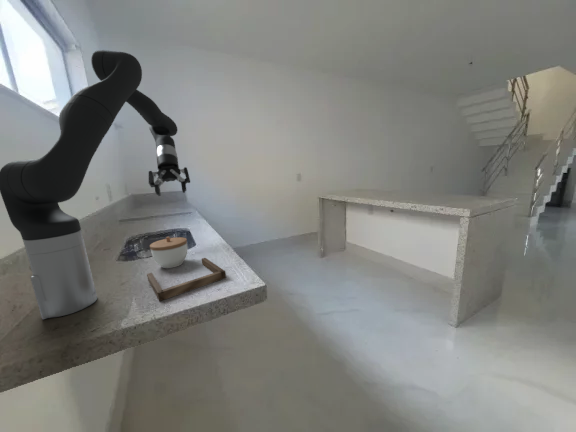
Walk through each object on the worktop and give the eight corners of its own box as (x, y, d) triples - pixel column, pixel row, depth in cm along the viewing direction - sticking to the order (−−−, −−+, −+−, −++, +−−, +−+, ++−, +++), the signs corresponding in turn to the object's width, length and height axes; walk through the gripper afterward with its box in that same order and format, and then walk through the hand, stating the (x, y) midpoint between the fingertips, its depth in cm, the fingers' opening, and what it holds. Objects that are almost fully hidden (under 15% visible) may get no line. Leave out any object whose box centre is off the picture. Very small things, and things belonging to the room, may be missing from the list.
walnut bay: (159, 301, 54) (157, 293, 54) (148, 280, 66) (146, 273, 66) (226, 277, 64) (225, 271, 64) (205, 263, 76) (205, 257, 76)
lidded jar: (195, 258, 82) (192, 232, 80) (178, 271, 71) (174, 241, 70) (166, 259, 83) (162, 233, 81) (146, 271, 73) (140, 242, 71)
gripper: (144, 154, 90) (147, 190, 84) (184, 151, 94) (190, 185, 88) (150, 166, 96) (153, 201, 90) (187, 163, 101) (193, 195, 95)
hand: (171, 193), depth 89 cm, fingers open, 8 cm apart
